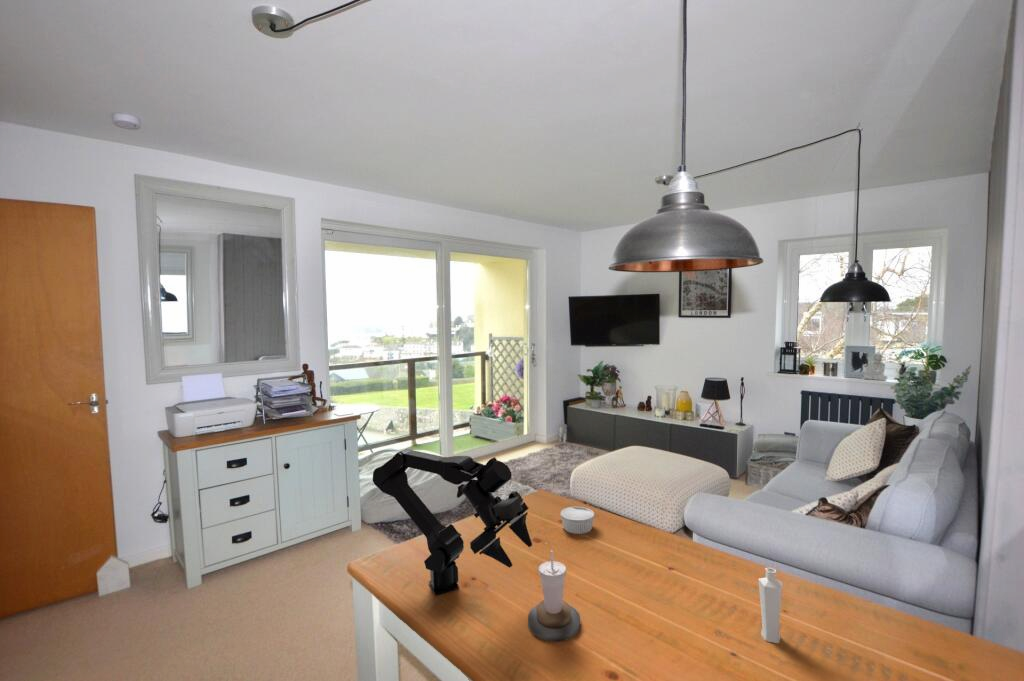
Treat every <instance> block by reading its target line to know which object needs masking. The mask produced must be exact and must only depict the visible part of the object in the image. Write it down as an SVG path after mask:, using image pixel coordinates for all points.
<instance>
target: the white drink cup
mask: <svg viewBox="0 0 1024 681" xmlns="http://www.w3.org/2000/svg"><path fill="white" fill-rule="evenodd" d="M538 574H539V576H540V581H541V587H542V595H543V600H544V603H545V609H546V611H547V612H548V613H551V614H557V613H559V612H560V611H561V609H562V600H563V599H564V588H565V587H564V586H565V578H566V575H567V568H566V565H565V564H563V563H562V562H559V561H555V560H554V551H553V550H550V561H545V562H542V563H541V564H540V565H539V566H538Z"/></svg>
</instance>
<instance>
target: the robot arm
mask: <svg viewBox="0 0 1024 681" xmlns="http://www.w3.org/2000/svg"><path fill="white" fill-rule="evenodd" d="M408 469H414V470H419V471H423V472H426V473H431V474H435V475H438V476H440V477H441V478H442V479H443V481H446V482H448V483H450V484H452V485H456V486H457V485H458V486H457V493H456V498H457V499H459V498H461V497H462V496H465V498H466V499H467V501H468V502H469V504H470V505H471V507H472V508H473V509H474V511H475V513H474V514H473V516H474V517H475V519H477V518H479V519H480V520H481V522H482V523H483V524H484V526H485V527H484V528H483V530H484V531H482V532H481V533H480V534H478V535H477V536H476V537H475V538H474V539H472V540H471V541H470V542H469V543H470V544H469V545H470V546H469V547H470V550H472V553H473V554H474V555H476V554H477V553H479V555H482V554H483V555H485V556H488V557H489V558H492V559H494V560H496V561H497V562H499V563H500V564H502V565H504V566H506V567H507V568H512V567H513V563H512V561H511V559H510V557H509V556H508V554H507V552H505V550H504V548H503V547H502V545H501V537H500V536H498V537H497V534H498V533H499V532H500V531H501V530H502V529H504V528H505V527H506V526H507V525H508V524H509V525H508V528H509V529H510V530H511V531H512V532H513V533H514V534H515V535H516V537H518V539H520V541H521V542H522V543H523V544H524V545H526V546H527V547H528V548H530V547H532V546H533V542H532V540H531V537H530V533H529V531H528V527H527V523H526V522H527V516H528V510H529V507H528V505H527V504H526V503H525V502H524V498H522V496H521V495H520V493H519V492H518V491H517V490H514V491H512V492H510V493H509V494H508V497H506V499H504V500H503V499H502V498H501V497H500V496H499V495H496V496H494V494H493V493H496V492H497V491H498V490H500V489H501V488H502V487H503V486H505V484H507V483H508V482H510V480H511V479H512V471H511V468H509V466H508V465H507V464H505V463H504V462H503V461H501V460H498V459H497V458H496V456H494V457H491V458H490V459H489V460H487V462H486V463H485V464H483V463H481V462H478V461H475V460H474V459H473V458H472V456H469V455H455V456H454V455H453V456H441V455H436V454H431V453H427V452H422V451H418V450H415V449H413V448H405V449H402V450H400V451H398V452H396V453H395V454H394V456H393V457H391V458H390V459H388V460H387V461H386V462H385V463H383V465H381V466H379V467H376V468H375V469H374V470H373V472H372V482H373V483H374V485H375V486H376V487H377V489H379V490H380V491H381V492H382V493H383V494H386V495H388V496H390V497H393V498H394V499H395V500H396V502H397V503H398V504H399V505H400V506H401V508H402V509H403V511H404V512H405V513H406V514H407V516H408V517H409V518H410V519H411V520H412V522H414V524H415V525H416V526H417V528H418V529H419V530H420V532H421V533H422V535H423V536H424V537H425V538H426V543H427V549H428V552H429V554H430V555H429V556H427V558H425V560H424V561H423V562H424V566H425V569H426V570H427V571H429V573H430V576H429V577H430V580H429V581H428V584H429V586H430V588H431V590H432V592H433V593H434V595H435V596H437V595H440V594H444V593H448V592H451V591H454V590H458V589H460V586H459V584H458V583H459V568H458V566H457V562H456V560H457V559H459V558H460V555H461V553H463V551H464V544H465V543H464V542H465V541H464V540H463V538H462V537H461V536H462V534H461V533H460V532H459V531H458V530H457V529H456V528H455V526H454V525H452V523H450V524H449V525H443V524H442V523H441V522H440V520H438V518H437V517H435V515H434V514H433V513H432V511H431V510H430V509H429V508H428V507H427V505H426V504H425V502H423V500H422V499H421V498H420V497H419V496H418V495H417V493H416V492H415V490H413V489H412V487H411V486H410V485H409V480H408V474H407V473H406V471H408ZM475 478H476V479H475ZM526 511H527V512H526Z"/></svg>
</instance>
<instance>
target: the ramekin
mask: <svg viewBox="0 0 1024 681" xmlns="http://www.w3.org/2000/svg"><path fill="white" fill-rule="evenodd" d="M560 518H561V523H562V527H563V529H564V531H565V532H568V533H570V534H573V535H583V534H584V535H585V534H588V533H589V532H591V530H592V529H593V524H594V519H595V512H594V511H593V510H592V509H590V508H587V507H583V506H570V507H569V506H568V507H565V508H563V509H562V510H561V511H560Z"/></svg>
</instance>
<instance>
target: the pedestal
mask: <svg viewBox="0 0 1024 681" xmlns="http://www.w3.org/2000/svg"><path fill="white" fill-rule="evenodd" d="M527 626H528V629H529V631H530V632H531V634H533V635H534V636H535V637H537V638H538V639H540V640H543V641H547V642H554V643H555V642H563V641H568V640H569V639H572V638H574V637H575V636H576V635H577V634H578V633H579V631H580V629H581V615H580V613H579V612H578V611H577V609H576V608H574V607H573V606H572V605H570V604H569V603H568V602H567V601H565V600H563V599H562V609H561V611H560V612H559V613H557V614H551V613H548V612H547V611H546V609H545V603H544V599H543V600H541V601H540V602H539V603H537V604H536V605H535V606H533V607H532V608H531V609H530V611H529V612H528V615H527Z"/></svg>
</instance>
